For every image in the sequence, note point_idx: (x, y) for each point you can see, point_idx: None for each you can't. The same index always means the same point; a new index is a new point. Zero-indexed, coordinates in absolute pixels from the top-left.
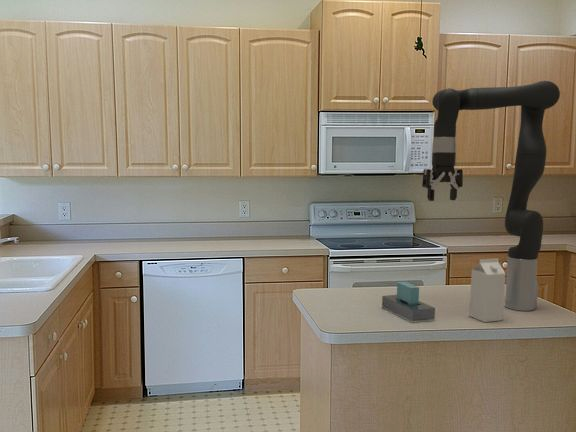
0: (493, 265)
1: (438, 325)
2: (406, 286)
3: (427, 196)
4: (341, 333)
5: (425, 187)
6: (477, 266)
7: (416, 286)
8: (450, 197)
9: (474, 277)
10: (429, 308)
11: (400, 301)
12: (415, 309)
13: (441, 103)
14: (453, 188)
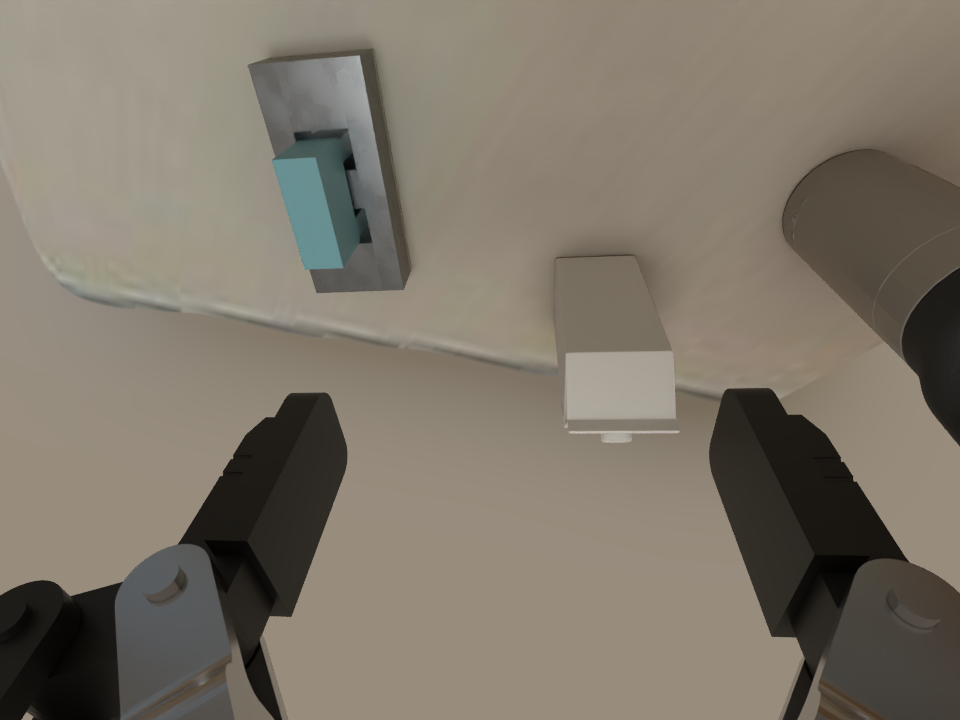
0: (612, 441)
1: (401, 310)
2: (295, 237)
3: (239, 447)
4: (103, 303)
5: (85, 613)
6: (575, 389)
7: (337, 252)
8: (740, 420)
9: (563, 353)
10: (381, 290)
11: None
12: (327, 290)
13: None
14: (803, 630)
